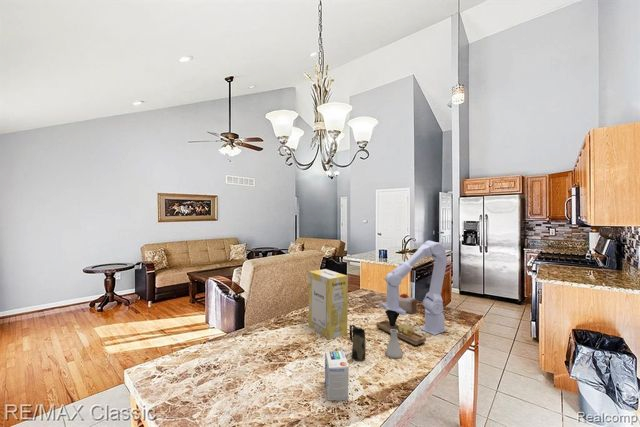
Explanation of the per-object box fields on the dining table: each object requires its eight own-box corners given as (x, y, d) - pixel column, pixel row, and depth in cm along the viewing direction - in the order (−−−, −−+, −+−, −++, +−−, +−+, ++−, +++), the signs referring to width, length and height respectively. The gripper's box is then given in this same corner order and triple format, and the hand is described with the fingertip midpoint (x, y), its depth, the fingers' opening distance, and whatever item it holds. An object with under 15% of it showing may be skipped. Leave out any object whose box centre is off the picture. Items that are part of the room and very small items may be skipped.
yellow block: (404, 331, 139) (404, 323, 139) (413, 334, 134) (413, 327, 134) (398, 333, 136) (398, 325, 136) (407, 337, 132) (407, 329, 132)
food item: (390, 309, 175) (390, 292, 174) (397, 306, 180) (397, 290, 180) (411, 315, 165) (411, 298, 165) (418, 311, 170) (418, 295, 170)
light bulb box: (324, 381, 102) (324, 350, 102) (343, 380, 102) (343, 350, 102) (327, 401, 91) (328, 367, 91) (349, 400, 92) (349, 366, 92)
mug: (368, 359, 117) (368, 329, 117) (357, 363, 114) (358, 332, 114) (355, 350, 124) (355, 322, 123) (345, 354, 120) (345, 325, 120)
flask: (403, 360, 116) (403, 335, 116) (384, 358, 118) (385, 333, 117) (402, 351, 123) (402, 327, 123) (384, 349, 125) (384, 326, 125)
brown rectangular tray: (386, 325, 151) (386, 319, 151) (426, 343, 131) (426, 336, 131) (375, 328, 146) (375, 322, 146) (414, 347, 126) (414, 341, 126)
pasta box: (308, 325, 149) (308, 271, 149) (325, 321, 155) (325, 269, 155) (329, 339, 134) (329, 278, 134) (347, 333, 140) (347, 275, 140)
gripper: (376, 295, 146) (375, 322, 146) (398, 303, 134) (398, 332, 134) (386, 293, 150) (385, 319, 150) (409, 300, 138) (408, 329, 138)
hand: (392, 325), depth 142 cm, fingers closed
